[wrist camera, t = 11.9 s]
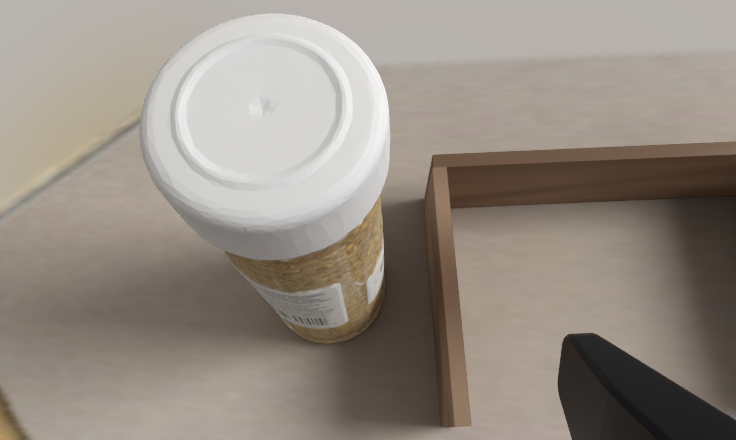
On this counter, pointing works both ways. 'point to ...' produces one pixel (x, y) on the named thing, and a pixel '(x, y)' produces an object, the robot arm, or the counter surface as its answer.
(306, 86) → the sprinkles bottle
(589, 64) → the counter surface
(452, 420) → the wooden tray
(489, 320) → the counter surface
